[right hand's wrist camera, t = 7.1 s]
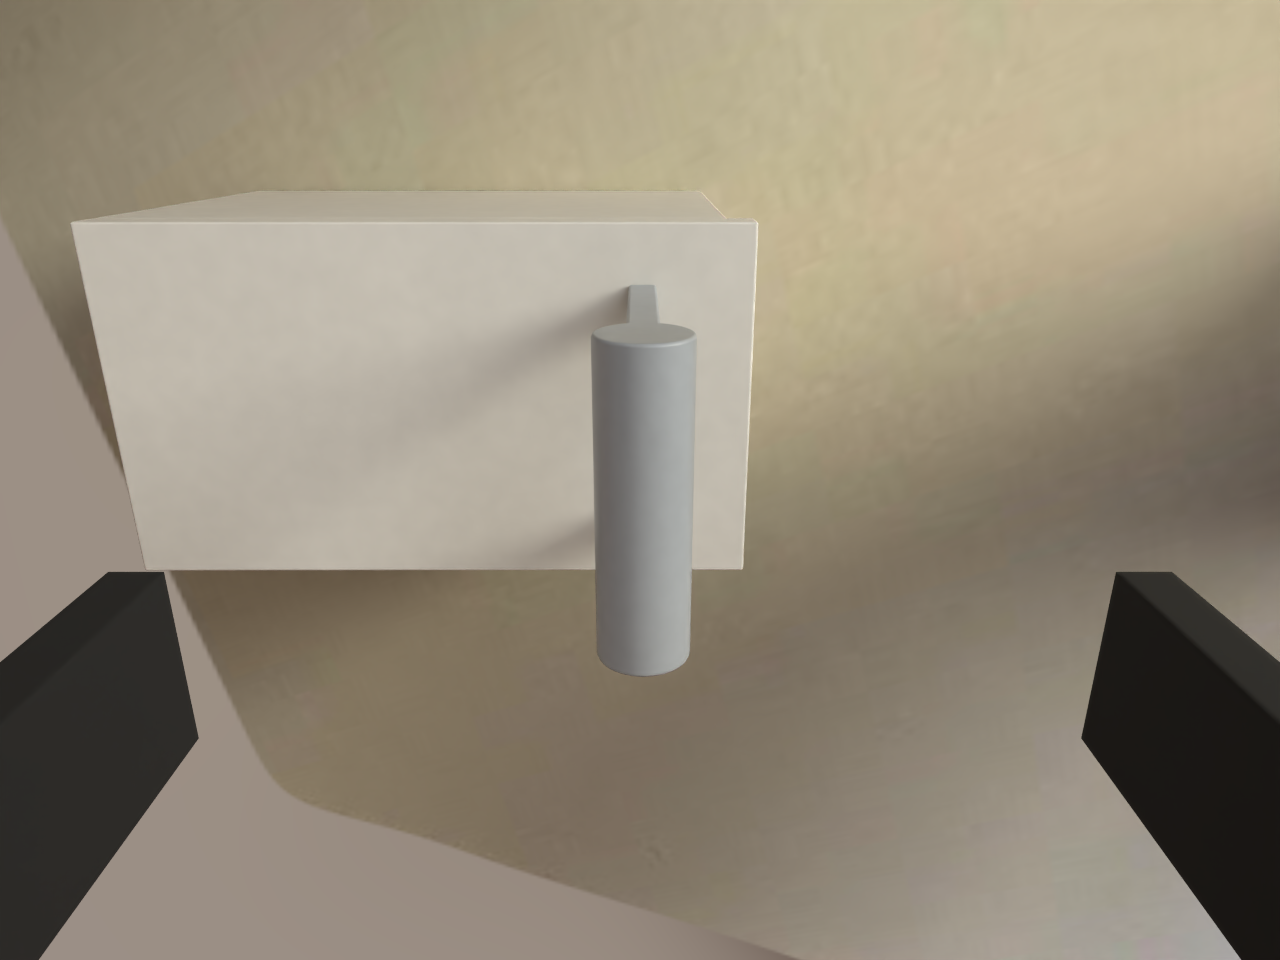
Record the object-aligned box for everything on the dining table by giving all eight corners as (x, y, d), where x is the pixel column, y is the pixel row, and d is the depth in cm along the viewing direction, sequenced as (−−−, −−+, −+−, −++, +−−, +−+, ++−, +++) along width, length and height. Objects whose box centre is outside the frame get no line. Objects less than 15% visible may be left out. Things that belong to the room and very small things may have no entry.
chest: (700, 190, 33) (727, 217, 23) (694, 437, 37) (716, 553, 27) (257, 190, 33) (93, 217, 23) (292, 437, 37) (164, 553, 27)
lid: (753, 218, 23) (813, 264, 15) (739, 553, 27) (782, 734, 19) (92, 218, 23) (-190, 265, 15) (163, 554, 27) (-39, 735, 19)
